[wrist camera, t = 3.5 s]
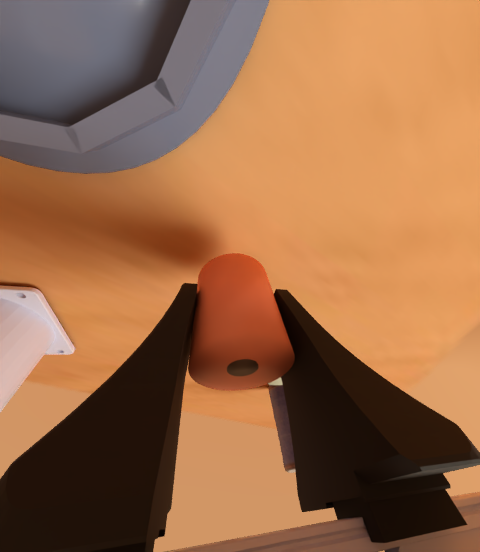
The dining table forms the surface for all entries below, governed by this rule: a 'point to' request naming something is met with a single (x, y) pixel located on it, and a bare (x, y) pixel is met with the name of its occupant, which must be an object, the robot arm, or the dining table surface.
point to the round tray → (115, 77)
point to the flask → (282, 425)
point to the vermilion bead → (237, 327)
